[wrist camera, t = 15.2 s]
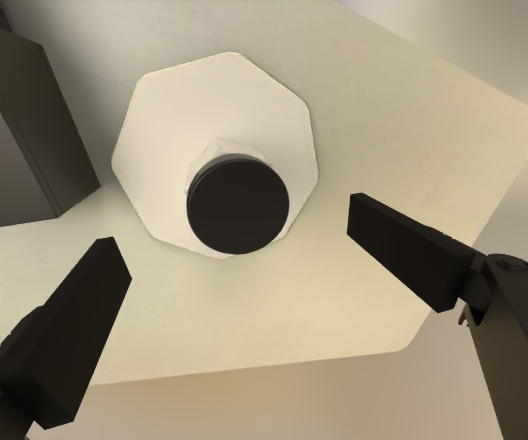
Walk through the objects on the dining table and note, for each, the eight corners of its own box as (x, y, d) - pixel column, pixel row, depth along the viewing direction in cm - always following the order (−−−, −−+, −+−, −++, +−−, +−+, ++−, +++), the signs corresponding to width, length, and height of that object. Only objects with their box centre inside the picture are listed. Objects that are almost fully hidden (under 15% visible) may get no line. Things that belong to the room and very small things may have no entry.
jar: (179, 147, 26) (163, 172, 15) (248, 127, 27) (278, 138, 16) (207, 215, 30) (209, 272, 20) (266, 197, 31) (298, 241, 20)
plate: (175, 270, 34) (174, 277, 33) (74, 96, 23) (66, 95, 22) (321, 218, 36) (326, 222, 35) (292, 36, 25) (297, 31, 24)
